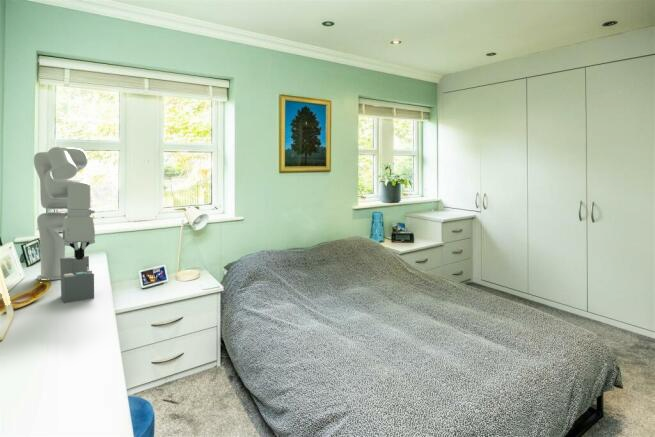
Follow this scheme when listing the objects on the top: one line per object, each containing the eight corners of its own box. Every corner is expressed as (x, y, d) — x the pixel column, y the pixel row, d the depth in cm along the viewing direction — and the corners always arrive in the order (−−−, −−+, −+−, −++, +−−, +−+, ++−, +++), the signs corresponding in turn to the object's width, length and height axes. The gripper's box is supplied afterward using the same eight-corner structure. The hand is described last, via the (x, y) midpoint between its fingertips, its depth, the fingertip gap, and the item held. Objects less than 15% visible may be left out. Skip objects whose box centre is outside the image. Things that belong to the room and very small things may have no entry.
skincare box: (73, 297, 149) (73, 258, 148) (59, 295, 151) (58, 257, 149) (91, 291, 157) (90, 255, 156) (77, 290, 159) (76, 254, 158)
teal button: (75, 280, 147) (75, 272, 146) (82, 279, 149) (82, 271, 148) (77, 281, 145) (77, 273, 145) (84, 280, 147) (84, 272, 147)
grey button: (86, 273, 148) (86, 270, 148) (90, 273, 149) (90, 269, 149) (87, 274, 147) (87, 270, 147) (91, 273, 148) (91, 270, 148)
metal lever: (86, 273, 150) (85, 264, 150) (88, 272, 150) (88, 264, 150) (86, 273, 149) (86, 264, 149) (89, 272, 150) (88, 264, 150)
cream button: (63, 282, 144) (63, 274, 144) (71, 281, 146) (71, 273, 146) (65, 283, 142) (65, 275, 142) (73, 282, 144) (73, 274, 144)
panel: (61, 300, 145) (61, 275, 144) (90, 295, 152) (90, 271, 151) (64, 303, 142) (64, 277, 141) (94, 298, 149) (94, 273, 148)
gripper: (97, 211, 153) (97, 255, 155) (53, 212, 142) (54, 259, 143) (103, 213, 148) (103, 258, 150) (58, 214, 137) (59, 263, 138)
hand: (79, 259), depth 146 cm, fingers closed
